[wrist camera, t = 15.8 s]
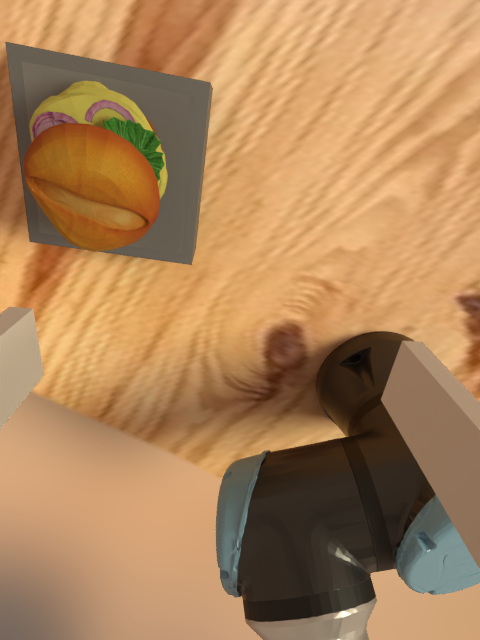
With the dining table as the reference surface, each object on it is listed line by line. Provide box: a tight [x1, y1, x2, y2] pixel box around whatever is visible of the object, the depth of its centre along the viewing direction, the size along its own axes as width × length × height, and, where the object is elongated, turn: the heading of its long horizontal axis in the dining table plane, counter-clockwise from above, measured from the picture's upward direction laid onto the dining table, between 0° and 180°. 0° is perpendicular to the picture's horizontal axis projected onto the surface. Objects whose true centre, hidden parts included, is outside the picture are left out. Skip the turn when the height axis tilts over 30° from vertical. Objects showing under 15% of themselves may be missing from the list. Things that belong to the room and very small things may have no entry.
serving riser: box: [6, 42, 213, 265], centre depth 32 cm, size 15×15×5 cm
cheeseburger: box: [23, 81, 168, 252], centre depth 27 cm, size 10×11×10 cm
